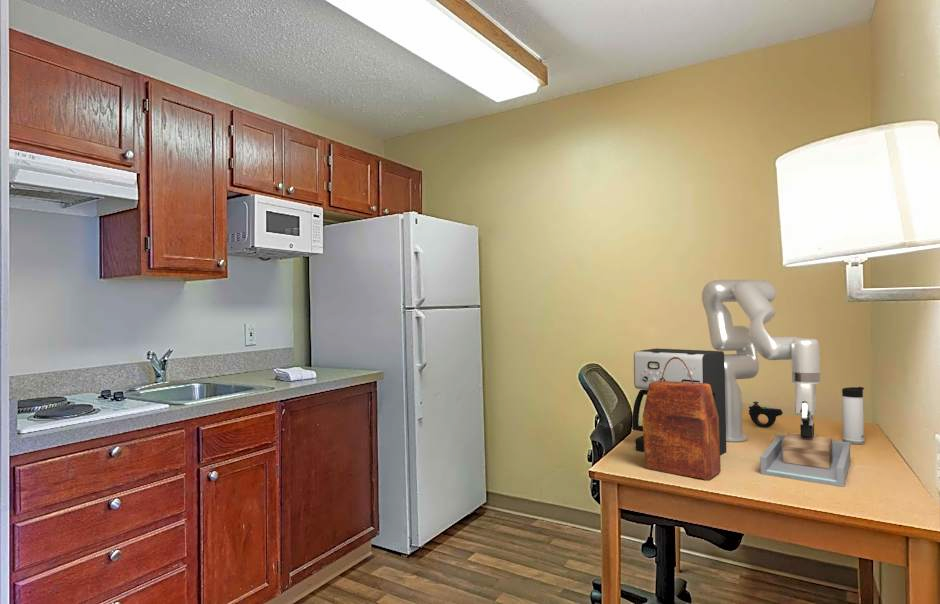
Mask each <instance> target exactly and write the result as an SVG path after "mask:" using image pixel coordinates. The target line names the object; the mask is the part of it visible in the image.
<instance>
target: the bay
mask: <svg viewBox="0 0 940 604" xmlns="http://www.w3.org/2000/svg"><path fill="white" fill-rule="evenodd" d="M786 435H787V434H779V433H777V434H775V436H776V437H775V439H774V440H773V441H772V442H771V444H770V445H769V446H768V447H767V448H766V449H765V451H764V452H763V453H762V455H760V457H759V458H760V460H759V463H760V475H765V474H766V475H767V476H771V475H773V477H777V476H778V478H785V479H791V480H797V481H803V482H804V481H805V482H809V483H810V482H811V483H818V484H823V485H830V486H833V487H834V486H835V487H842V488H844V487H845V484H846V480H847V476H848V473H849V468H850V465H851V464H850V463H851V444H850V442H844V441H839V440H832V444H833V448H832V456H833V461H832V463H831V466H830V469H827V468H820V467H813V466H806V465H799V464H792V463H785V462H783V448H782V446H783V439H784V437H785V436H786Z"/></svg>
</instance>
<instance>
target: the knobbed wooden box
mask: <svg viewBox="0 0 940 604" xmlns="http://www.w3.org/2000/svg"><path fill="white" fill-rule="evenodd" d="M811 423H812V426H813V423H814V419H813V420H812V419H811ZM785 435H786V436H785V437H784V439H783V446H782V448H783V462H785V463H792V464H799V465H806V466H813V467H820V468H827V469H830V466H831V463H832V461H833V456H832V448H833V444H832V441H833V437H826V436H818V435H814V436H813V438H812V439H809V438H801V433H800V434H799V433H792V432H788V433H786V434H785Z"/></svg>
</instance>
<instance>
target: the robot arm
mask: <svg viewBox="0 0 940 604" xmlns="http://www.w3.org/2000/svg"><path fill="white" fill-rule="evenodd" d="M776 295H777V291H776V288H775V286H774V284H773V283H771V282H770V281H768V280H764V279H716V280H711V281H709V282H708V283H706V284H705V285H704V286H703V289H702V292H701V301H702V305H703V309H704V311H705V314H706V318H707V325H708V332H709V338H710V344H711V346H712V349H714V351H723V352H730V351H731V352H733V351H735V352H736V353H727V354H725V353H724V364H725V408H726V442H732V443H733V442H735V443H737V442H739V443H740V442H745V441H747V440H748V436H747V434H744V433H743V404H742V403H743V401H742V391H741V388H740V386H739V384H738V382H737V380H745V379H746V380H747V379H748V380H749V379H753V378H755V377H756V376H757V375H758V374H759V370H760V365H759V363H760V361H759V357H758V354H759V355H760V356H761V357H762V358H764V359H765V360H767V361H787V360H788V361H789V360H791V382H792V383H795V389H794V399H795V400H794V414H795V415H799V414H800V426H799V427H800V434H801V438H809V439H812V438H813V436H815V423H814V422H813V426H812V423H811V419H812V420H813V421H814V415H815V414H816V411H817V385H818V384H821V360H820V359H821V358H820V357H821V356H820V355H821V354H820V353H821V351H820V341H818V340H817V339H816V338H808V337H807V338H805V337H804V338H803V337H799V336H771V335H770V334H769V333H768V331H767V329H766V328H765V324H767V323H769V322H770V321H771V320H773V318H774V317H775V316H776V313H777V312H776V308H775V307H774V306H773V305H772V302H773V301H775V299H776V297H777V296H776ZM731 302H733V303H735V302H736V303H738V305H739V307H741V309H742V311H743V312H744V314H745V315H746V316H747V318H748V320H749V321H750V323H749V326H748V327H749V328H748V327H747V326H744V325H734V324H733V318H732V314H731V312H730V310H729V308H728V307H727V306H726V304H724V303H731Z"/></svg>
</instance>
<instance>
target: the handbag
mask: <svg viewBox="0 0 940 604" xmlns="http://www.w3.org/2000/svg"><path fill="white" fill-rule="evenodd" d="M673 359H679V360H680V361H682V362H683V363H684V361H683V360H682V359H680V358H679V357H673V358H671V359H670V360H669V361H668V362H667V363H666V366H667V364H668V363H669V362H670V361H671V360H673ZM684 365H685V366H686V368H687V370H688V372H689V369H688V367H687V365H686V364H685V363H684ZM666 366H665V368H664V370H663V375H664V371H665V369H666ZM663 375H662V380H661V381H656V382H652V383H650V384H649V387H648V392H647V395H646V398H645V403H644V408H643V413H642V426H643V431H642V433H643V436H644V452H643V453H644V469H646V470H651V471H657V472H662V473H663V472H664V473H668V474H674V475H679V476H685V477H692V478H698V479H702V480H704V481H706V482H709V481H710V480H711V479H713V478H714V477H716V476H717V475H719V474H720V473H721V455H720V439H719V416H718V413H717V409H716V405H715V401H714V397H713V393H712V390H711V386H710V385H709V384H708V383H693V381H692V377H691V374H690V372H689V375H690V378H691V382H692V383H690V382H673V381H663Z"/></svg>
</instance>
